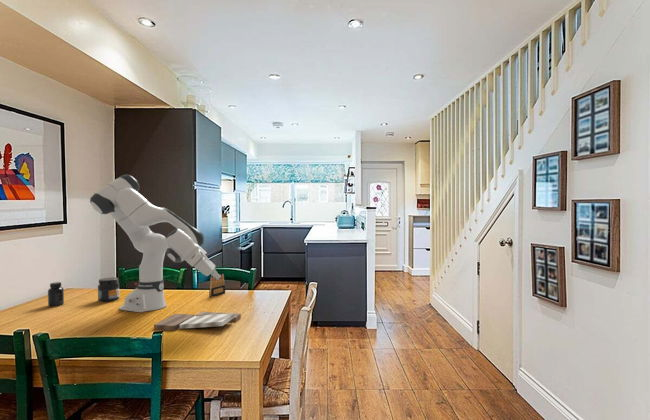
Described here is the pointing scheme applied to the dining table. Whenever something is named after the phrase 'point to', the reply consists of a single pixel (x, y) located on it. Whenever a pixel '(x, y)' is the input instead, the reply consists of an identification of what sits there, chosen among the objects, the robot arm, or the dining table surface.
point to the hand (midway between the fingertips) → (219, 278)
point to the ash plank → (207, 321)
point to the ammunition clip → (217, 286)
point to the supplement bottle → (55, 294)
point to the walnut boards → (177, 319)
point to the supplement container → (108, 289)
